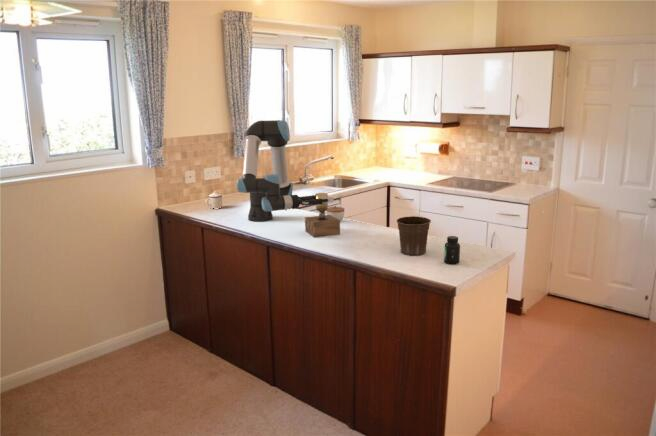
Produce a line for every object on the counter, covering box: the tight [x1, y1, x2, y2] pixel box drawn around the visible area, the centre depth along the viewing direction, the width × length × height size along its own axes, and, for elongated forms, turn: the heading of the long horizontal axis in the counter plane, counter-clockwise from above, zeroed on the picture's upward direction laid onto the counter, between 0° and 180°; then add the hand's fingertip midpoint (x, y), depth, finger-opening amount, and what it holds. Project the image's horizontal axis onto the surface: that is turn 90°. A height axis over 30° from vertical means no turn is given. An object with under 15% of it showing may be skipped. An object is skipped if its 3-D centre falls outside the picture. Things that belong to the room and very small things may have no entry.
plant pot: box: [396, 216, 432, 257], centre depth 260 cm, size 16×16×16 cm
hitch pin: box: [315, 192, 329, 220], centre depth 296 cm, size 6×6×16 cm
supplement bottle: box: [443, 235, 461, 266], centre depth 245 cm, size 7×7×12 cm
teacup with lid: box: [205, 190, 223, 209], centre depth 365 cm, size 12×9×12 cm
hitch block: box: [304, 214, 341, 238], centre depth 299 cm, size 15×15×8 cm
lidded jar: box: [326, 205, 345, 223], centre depth 324 cm, size 11×11×9 cm
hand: (330, 198), depth 297 cm, fingers closed on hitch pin, 6 cm apart
